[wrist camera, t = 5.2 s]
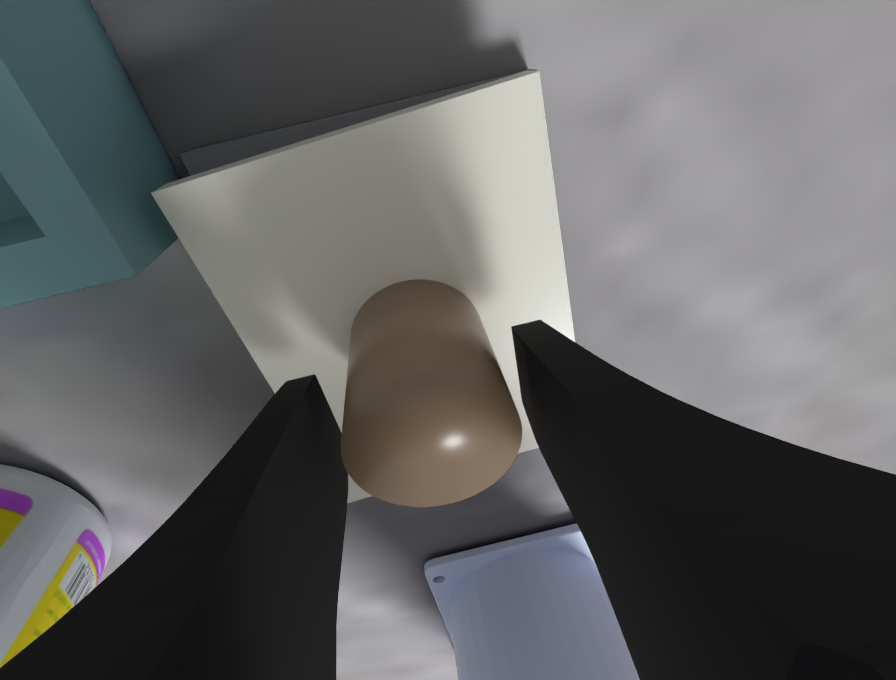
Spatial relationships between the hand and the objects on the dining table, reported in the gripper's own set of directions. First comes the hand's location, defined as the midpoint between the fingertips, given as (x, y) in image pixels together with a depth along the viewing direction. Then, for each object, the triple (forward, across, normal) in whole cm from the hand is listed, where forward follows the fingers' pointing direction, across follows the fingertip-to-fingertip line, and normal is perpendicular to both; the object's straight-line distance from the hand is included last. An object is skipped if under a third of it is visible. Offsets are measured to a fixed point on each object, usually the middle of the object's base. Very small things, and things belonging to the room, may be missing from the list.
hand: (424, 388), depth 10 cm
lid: (+4, 0, 0) cm, 4 cm away
